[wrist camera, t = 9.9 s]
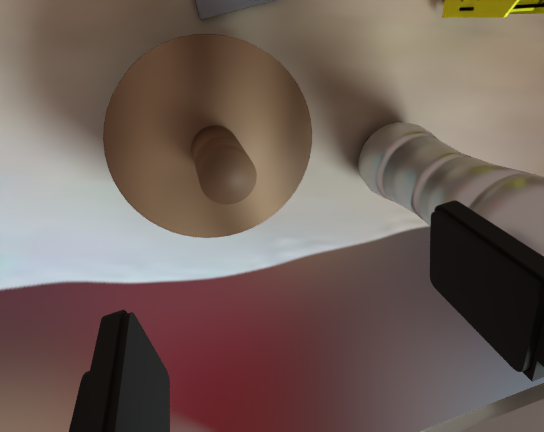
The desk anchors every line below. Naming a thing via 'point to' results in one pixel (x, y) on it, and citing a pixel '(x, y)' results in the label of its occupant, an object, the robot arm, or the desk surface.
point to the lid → (207, 135)
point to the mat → (224, 6)
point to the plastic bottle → (451, 181)
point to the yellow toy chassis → (491, 8)
